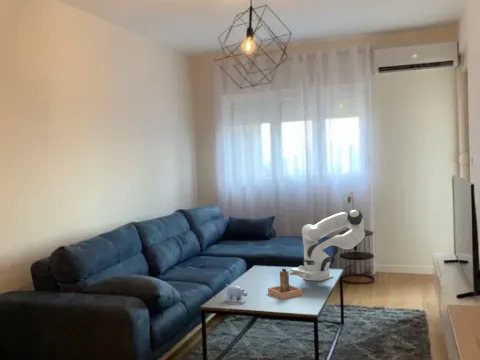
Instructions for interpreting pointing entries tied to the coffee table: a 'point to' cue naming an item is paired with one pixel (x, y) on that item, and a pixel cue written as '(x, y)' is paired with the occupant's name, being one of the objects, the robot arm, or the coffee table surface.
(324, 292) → the coffee table surface
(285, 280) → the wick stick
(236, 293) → the hippopotamus toy
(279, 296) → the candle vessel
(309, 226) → the robot arm
